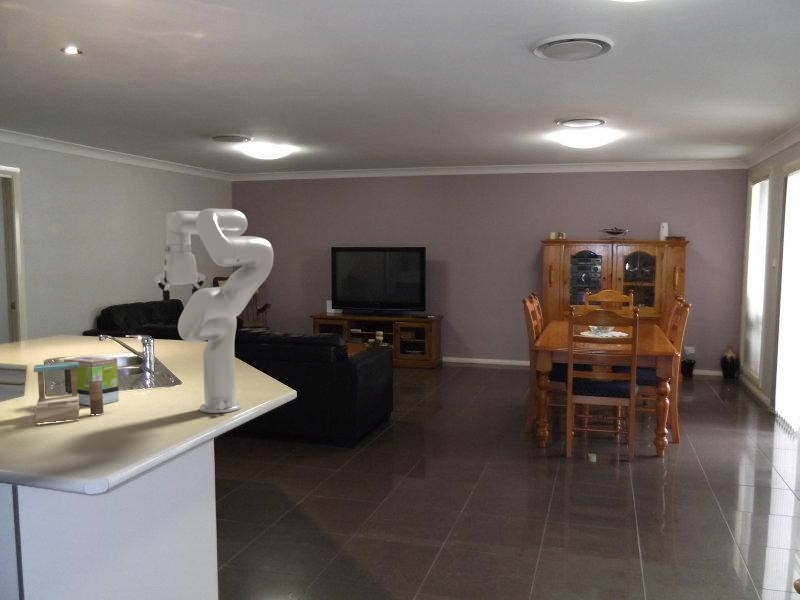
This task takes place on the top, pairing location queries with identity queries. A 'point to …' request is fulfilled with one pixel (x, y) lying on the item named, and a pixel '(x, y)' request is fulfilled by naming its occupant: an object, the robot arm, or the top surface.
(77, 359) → the tea box
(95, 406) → the peg
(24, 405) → the top surface
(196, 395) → the top surface
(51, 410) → the socket block
